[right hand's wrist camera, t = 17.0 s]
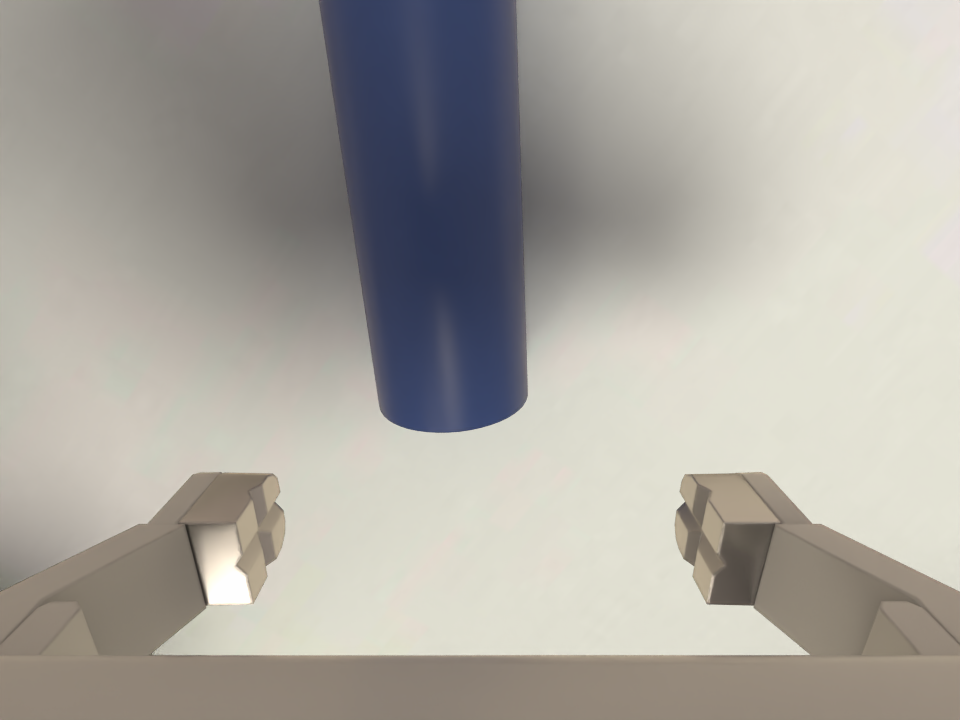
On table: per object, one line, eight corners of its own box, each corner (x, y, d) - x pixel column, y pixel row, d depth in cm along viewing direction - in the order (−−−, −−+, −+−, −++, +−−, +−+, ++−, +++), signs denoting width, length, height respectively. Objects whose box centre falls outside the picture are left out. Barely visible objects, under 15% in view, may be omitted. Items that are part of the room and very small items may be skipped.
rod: (523, 364, 24) (533, 429, 18) (393, 371, 24) (364, 437, 19) (495, -470, 15) (499, -868, 9) (284, -446, 15) (156, -819, 9)
